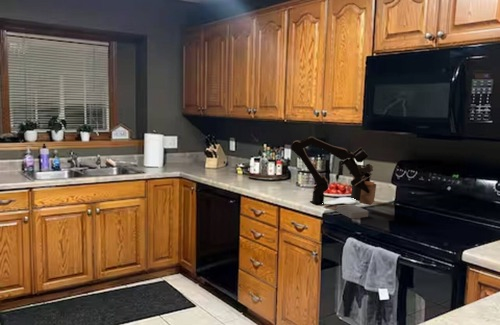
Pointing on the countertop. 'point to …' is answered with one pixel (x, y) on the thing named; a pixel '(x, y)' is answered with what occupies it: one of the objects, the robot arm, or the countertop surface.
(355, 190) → the travel mug
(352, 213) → the dock
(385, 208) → the countertop surface
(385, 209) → the countertop surface
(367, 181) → the cargo block
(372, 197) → the brown cylinder
